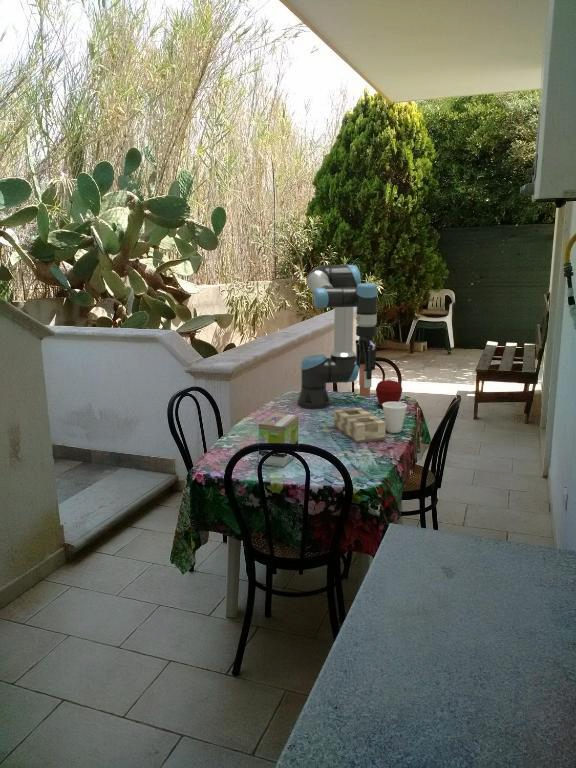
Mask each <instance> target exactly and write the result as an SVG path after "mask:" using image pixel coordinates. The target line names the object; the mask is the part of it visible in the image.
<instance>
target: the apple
mask: <svg viewBox="0 0 576 768" xmlns="http://www.w3.org/2000/svg"><path fill="white" fill-rule="evenodd" d="M375 393H376V398H377V400H378V404H380V406H382V404H383V403H385V402H400V400H401V397H402V394H403V387H402V384H401V383H400V382H398V381H396V380H391V379H386V380H385V379H384V380H380V381H379V382H378V383H377V385H376V388H375Z"/></svg>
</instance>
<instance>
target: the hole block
mask: <svg viewBox="0 0 576 768" xmlns="http://www.w3.org/2000/svg"><path fill="white" fill-rule="evenodd" d="M333 428H335V429H336V430H337V431H338V432H340V431H341V433H342V434H343V435H345V436H347V437H348V438H349V439H350V440H351V441H353V442H355V443H356V444H360V443H369V442H376V441H383V440H386V422H385V420H382V419H381V418H379V417H377V416H375V415H374V414H372V413H371V412H368V411H367V410H365V409H363V408H362V407H357V408H356V407H355V408H347V409H337V410H333Z"/></svg>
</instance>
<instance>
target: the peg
mask: <svg viewBox="0 0 576 768" xmlns="http://www.w3.org/2000/svg"><path fill="white" fill-rule="evenodd" d="M364 370H366V368H365V364H360V385H359V396H360V397H365V398H366V397H370V396H371V387H368V388H364Z"/></svg>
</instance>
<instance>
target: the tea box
mask: <svg viewBox="0 0 576 768" xmlns="http://www.w3.org/2000/svg"><path fill="white" fill-rule="evenodd" d="M259 443H293V444H298V445H299V415H296V414H287V413H278V412H275V413H274V412H273V413H272V414H270V415H269V416H268V417H266V418H265V419H263V421H261V422H259V423H258V444H259ZM267 453H269V451H259V450H258V461H259V460H260V459H261V458H262V457H263V456H264V455H265V454H267ZM293 459H294V457H293V456H290V455H287V454H275V455H272V456H270V457H269V458H268V459H267V460H266V461H265V463H264V464H263V465H264V466H266V465H267V466H275V467H282V468H283V467H285V466H287V465H288V463H290V461H291V460H293Z"/></svg>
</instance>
